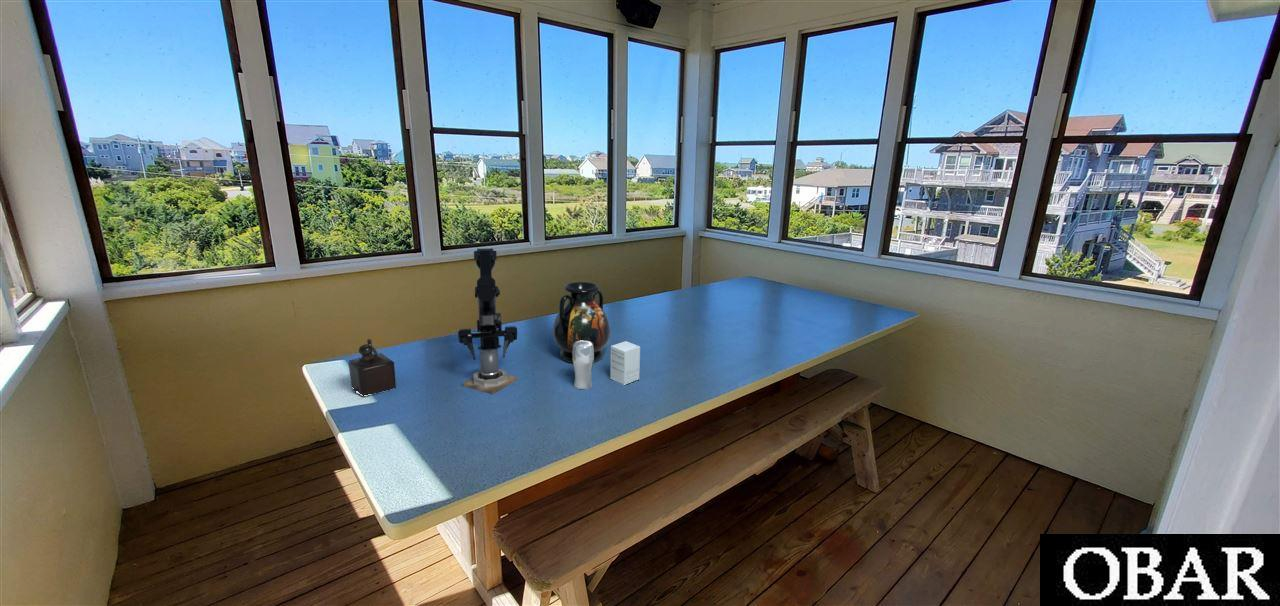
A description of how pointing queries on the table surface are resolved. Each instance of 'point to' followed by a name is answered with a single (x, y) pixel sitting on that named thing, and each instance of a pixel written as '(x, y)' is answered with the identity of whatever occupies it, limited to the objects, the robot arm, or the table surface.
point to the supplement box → (625, 362)
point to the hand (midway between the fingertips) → (489, 358)
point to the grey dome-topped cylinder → (489, 364)
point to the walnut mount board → (490, 389)
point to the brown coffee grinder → (371, 371)
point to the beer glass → (583, 363)
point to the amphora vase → (581, 320)
